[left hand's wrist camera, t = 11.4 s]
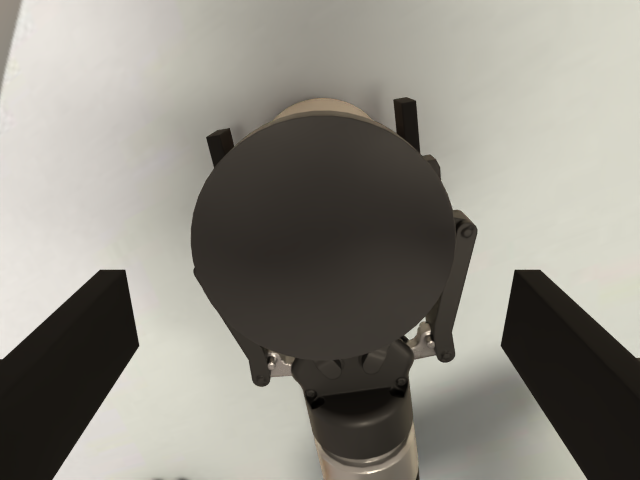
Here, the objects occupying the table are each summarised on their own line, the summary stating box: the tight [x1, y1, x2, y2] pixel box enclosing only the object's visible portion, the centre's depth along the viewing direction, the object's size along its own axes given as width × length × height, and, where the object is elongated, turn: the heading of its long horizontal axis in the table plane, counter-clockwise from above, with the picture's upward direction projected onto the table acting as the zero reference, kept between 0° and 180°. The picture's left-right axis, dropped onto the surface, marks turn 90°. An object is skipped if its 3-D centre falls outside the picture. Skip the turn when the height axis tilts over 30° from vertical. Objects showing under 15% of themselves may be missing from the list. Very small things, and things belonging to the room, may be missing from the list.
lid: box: [191, 110, 456, 360], centre depth 18 cm, size 11×10×2 cm
